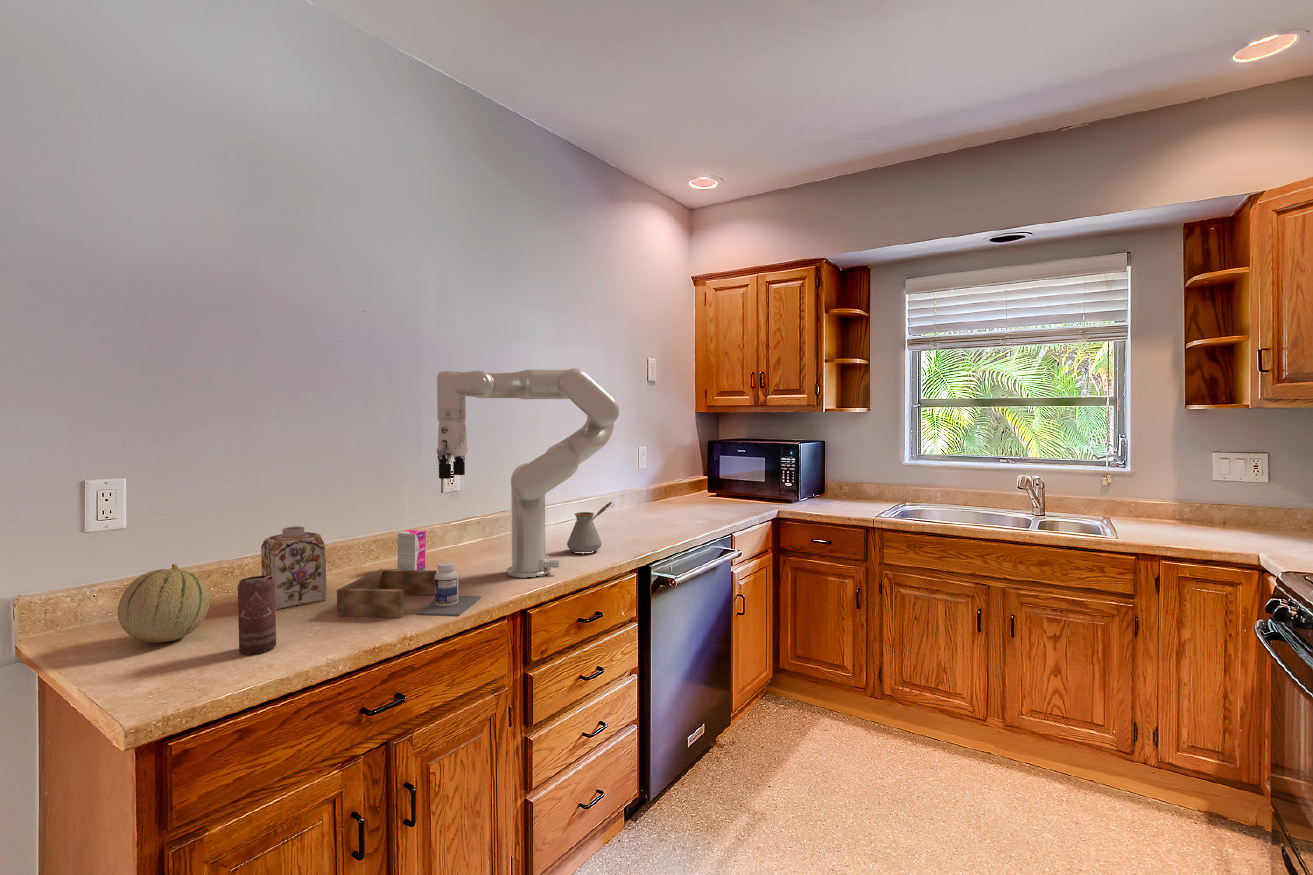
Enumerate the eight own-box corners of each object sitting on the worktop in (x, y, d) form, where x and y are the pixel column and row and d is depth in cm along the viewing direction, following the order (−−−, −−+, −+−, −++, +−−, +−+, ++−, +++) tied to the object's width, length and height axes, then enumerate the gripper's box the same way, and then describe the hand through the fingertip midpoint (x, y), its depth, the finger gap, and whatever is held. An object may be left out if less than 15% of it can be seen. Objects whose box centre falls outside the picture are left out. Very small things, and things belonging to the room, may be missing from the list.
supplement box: (415, 573, 181) (414, 533, 180) (396, 572, 182) (396, 532, 182) (426, 568, 187) (426, 530, 186) (408, 567, 188) (408, 529, 187)
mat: (481, 597, 157) (481, 596, 157) (459, 615, 143) (459, 614, 143) (442, 596, 158) (442, 595, 158) (416, 614, 144) (416, 612, 144)
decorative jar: (313, 590, 163) (312, 521, 162) (328, 600, 155) (326, 528, 154) (260, 600, 155) (258, 527, 154) (272, 611, 146) (271, 534, 146)
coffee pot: (587, 557, 201) (587, 510, 201) (559, 552, 207) (559, 507, 207) (625, 545, 219) (625, 502, 219) (599, 541, 225) (599, 500, 225)
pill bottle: (438, 600, 153) (437, 561, 153) (460, 600, 154) (460, 560, 153) (432, 607, 148) (431, 566, 147) (455, 606, 148) (455, 566, 148)
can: (284, 645, 125) (283, 575, 124) (254, 657, 119) (253, 584, 118) (262, 641, 127) (260, 573, 126) (231, 653, 121) (229, 581, 120)
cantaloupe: (105, 659, 118) (103, 579, 117) (134, 633, 131) (131, 562, 131) (200, 647, 124) (198, 572, 123) (218, 624, 137) (216, 556, 136)
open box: (436, 593, 160) (436, 570, 160) (400, 617, 142) (400, 591, 141) (380, 592, 162) (380, 569, 161) (337, 615, 143) (336, 589, 143)
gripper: (452, 415, 166) (452, 480, 167) (475, 415, 184) (476, 473, 184) (424, 415, 167) (425, 479, 168) (451, 415, 184) (451, 473, 185)
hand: (452, 476), depth 176 cm, fingers open, 9 cm apart
